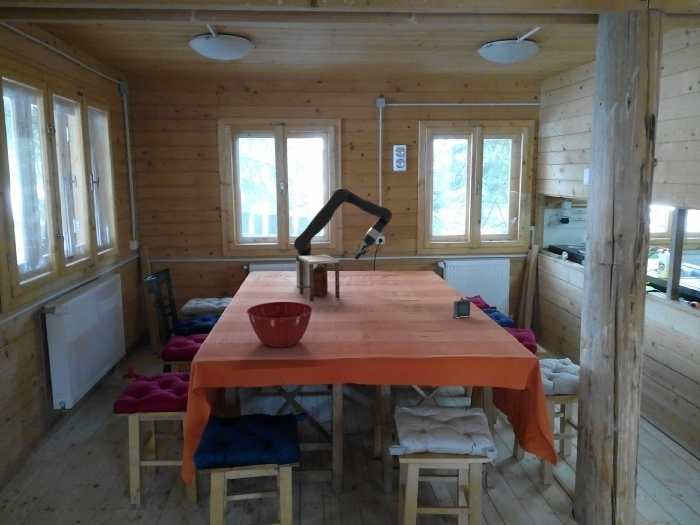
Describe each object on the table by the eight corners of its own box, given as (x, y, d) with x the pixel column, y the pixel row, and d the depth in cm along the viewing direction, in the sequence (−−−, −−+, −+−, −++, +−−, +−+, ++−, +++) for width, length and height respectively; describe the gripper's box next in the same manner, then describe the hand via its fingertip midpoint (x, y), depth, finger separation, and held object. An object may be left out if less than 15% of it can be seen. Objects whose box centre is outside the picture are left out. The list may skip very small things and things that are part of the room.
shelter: (299, 293, 344) (298, 256, 341) (327, 290, 351) (326, 254, 347) (310, 301, 322) (309, 261, 318) (340, 298, 328) (339, 259, 324)
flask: (455, 318, 280) (455, 298, 278) (452, 317, 282) (452, 297, 281) (470, 317, 283) (471, 297, 281) (467, 316, 285) (468, 295, 284)
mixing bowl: (313, 352, 229) (312, 316, 227) (244, 354, 227) (243, 318, 224) (312, 333, 257) (312, 300, 254) (251, 334, 255) (250, 302, 252)
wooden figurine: (330, 295, 338) (330, 266, 335) (325, 297, 332) (324, 268, 329) (314, 293, 343) (313, 265, 340) (308, 295, 338) (308, 266, 335)
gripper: (363, 231, 350) (347, 253, 349) (371, 235, 338) (355, 258, 337) (371, 238, 353) (356, 260, 352) (380, 241, 341) (364, 264, 340)
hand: (355, 259), depth 345 cm, fingers closed
